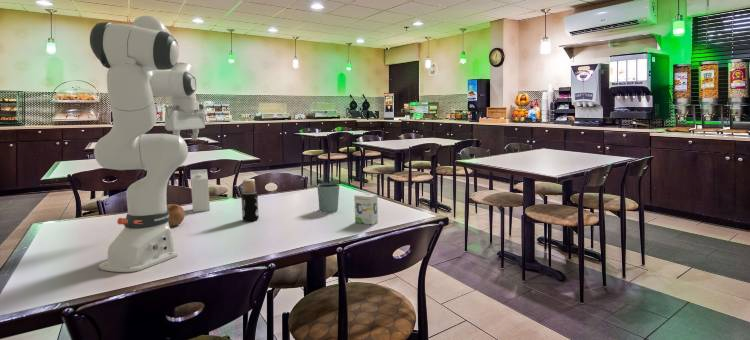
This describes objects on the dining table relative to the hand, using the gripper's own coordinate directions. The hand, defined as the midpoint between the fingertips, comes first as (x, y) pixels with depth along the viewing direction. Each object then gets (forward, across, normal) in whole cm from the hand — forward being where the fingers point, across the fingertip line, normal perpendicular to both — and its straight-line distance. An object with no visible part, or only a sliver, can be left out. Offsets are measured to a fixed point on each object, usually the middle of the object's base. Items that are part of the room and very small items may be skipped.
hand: (187, 141), depth 169 cm
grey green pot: (+34, +34, -47) cm, 67 cm away
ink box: (+34, +17, -69) cm, 79 cm away
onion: (+34, -3, +7) cm, 35 cm away
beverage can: (+34, +11, -20) cm, 41 cm away
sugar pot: (+22, +11, -20) cm, 32 cm away
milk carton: (+34, +23, +12) cm, 43 cm away
